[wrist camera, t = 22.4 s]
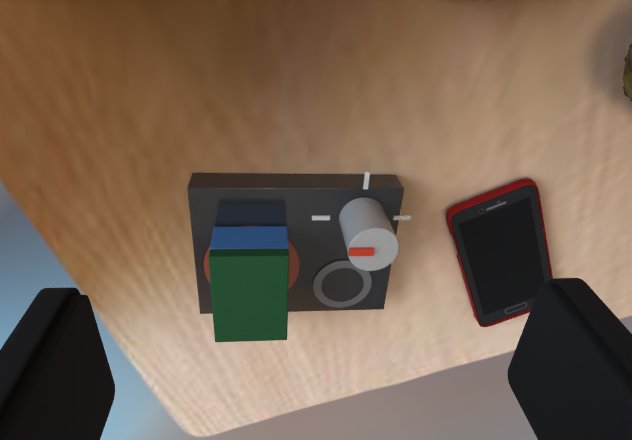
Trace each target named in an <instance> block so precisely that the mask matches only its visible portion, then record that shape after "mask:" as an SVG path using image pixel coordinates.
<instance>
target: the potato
mask: <svg viewBox="0 0 632 440" xmlns="http://www.w3.org/2000/svg"><path fill="white" fill-rule="evenodd" d="M629 47H630V49H629V50H628V55H627V57H625V61H626V64H625V69H624V77H623V79H624V87H623V88H624V94H625V95H626V96H627V97H629V98H630V99H631V101H632V44H631V46H629Z"/></svg>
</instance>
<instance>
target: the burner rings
mask: <svg viewBox="0 0 632 440" xmlns="http://www.w3.org/2000/svg"><path fill="white" fill-rule="evenodd" d="M242 227H261V226H242ZM288 247H289V282H288V290H289V289H290V287H291V286H292V285H293V284H294V282H295V280H296V278H297V276H298V273H299V257H298V253H297V251H296V249H295V247H294V246H293V244H292V243H291V242H290V241H289V240H288ZM209 251H210V246H209V248H208V250H207V252H206V255H205V260H204V270H205V274H206V277H207V279H208V281H209V283H210V273H209V261H208V256H209ZM371 285H372V279H371V275H370V273H369V271H365V270H361V269H359V268H357V267H355V266H354V265H353V264H352V263H351V261H350V260H337V261H334V262H331V263H329V264H327V265H325V266H324V267H322V268H321V269H320V270H319V271H318V272H317V274H316V276H315V278H314V281H313V291H314V294H315V296H316V297H317V299H318V300H319V301H320V302H322V303H323V304H325V305H328V306H331V307H336V308H342V307H348V306H352V305H354V304H356V303H358V302H360V301H361V300H362V299H364V298H365V297H366V295H367V294H368V293H369V291H370V288H371Z"/></svg>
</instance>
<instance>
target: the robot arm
mask: <svg viewBox="0 0 632 440" xmlns="http://www.w3.org/2000/svg"><path fill="white" fill-rule="evenodd" d="M508 380H509V384H510V386H511V389H512V391H513V392H514V394H515V396H516V398H517V400H518V402H519V404H520V406H521V408H522V410H523V412H524V414H525V415H526V417H527V419H528V421H529V423H530V425H531V427H532V429H533V431H534V433H535V435H536V436H537V439H538V440H632V334H631V333H630V332H629V331H628V329H626V327H625V326H624V325H623V324H622V323H621V322H620V320H619V319H618V318H617V317H616V316H615V315H614V314H613V313H612V312H611V310H610V309H609V308H608V307H607V306H606V305H605V304H604V303H603V301H602V300H601V299H600V298H599V297H598V296H597V295H596V294H595V293H594V291H593V290H592V289H591V288H590V287H589V286H588V285H587V284H586V283H585V282H584V281H583V280H582V279H579V278H554V279H550V280H549V281H547V283H546V285H545V286H542V287H540V289H539V291H538V293H537V296H536V298H535V301H534V303H533V306H532V309H531V311H530V314H529V316H528V319H527V322H526V324H525V327H524V329H523V332H522V335H521V337H520V340H519V342H518V345H517V348H516V350H515V353H514V356H513V358H512V360H511V363H510V366H509V368H508ZM114 395H115V384H114V380H113V377H112V374H111V370H110V367H109V363H108V360H107V357H106V353H105V350H104V347H103V343H102V340H101V337H100V333H99V330H98V327H97V323H96V320H95V317H94V313H93V310H92V306H91V303H90V300H89V298H88V296H87V295H81V294H80V292H79V290H78V289H77V288H44V289H42V290H41V291H40V292H39V293H38V295H37V296H36V297H35V299H34V301H33V302H32V303H31V305H30V306H29V308H28V309H27V311H26V312H25V314H24V315H23V317H22V318H21V320H20V321H19V323H18V324H17V326H16V327H15V329H14V330H13V332H12V333H11V335H10V336H9V338H8V339H7V341H6V342H5V344H4V345H3V347H2V349H1V350H0V440H100V438H101V435H102V432H103V429H104V426H105V423H106V421H107V418H108V415H109V412H110V409H111V406H112V403H113V400H114Z"/></svg>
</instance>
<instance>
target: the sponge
mask: <svg viewBox="0 0 632 440" xmlns="http://www.w3.org/2000/svg"><path fill="white" fill-rule="evenodd" d="M208 261H209V273H210V285H211V297H212V309H213V321H214V333H215V342H235V341H266V340H287V319H288V282H289V247H288V234H287V227H286V226H263V227H214V229H213V234H212V240H211V245H210V251H209V256H208Z"/></svg>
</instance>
